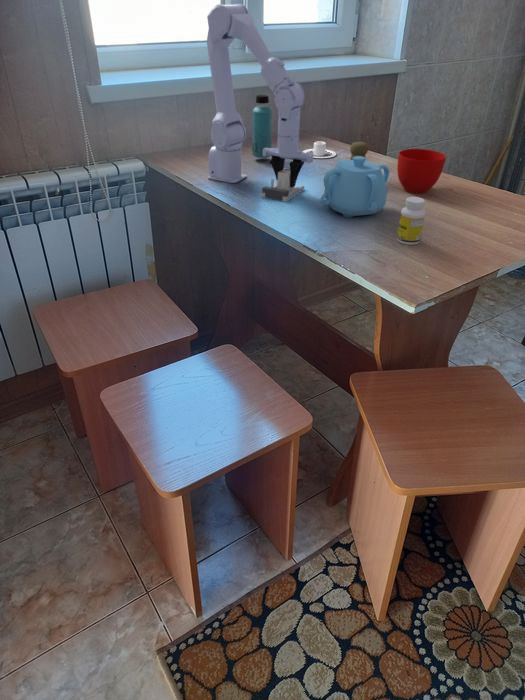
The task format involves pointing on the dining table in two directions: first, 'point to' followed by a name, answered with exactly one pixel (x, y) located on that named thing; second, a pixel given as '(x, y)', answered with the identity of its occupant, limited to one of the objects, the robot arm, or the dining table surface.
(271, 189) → the socket
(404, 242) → the supplement bottle
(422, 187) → the ceramic cup
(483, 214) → the dining table surface
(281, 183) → the plug block
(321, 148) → the candle holder
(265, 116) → the beverage bottle
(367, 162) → the decorative pot
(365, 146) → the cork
